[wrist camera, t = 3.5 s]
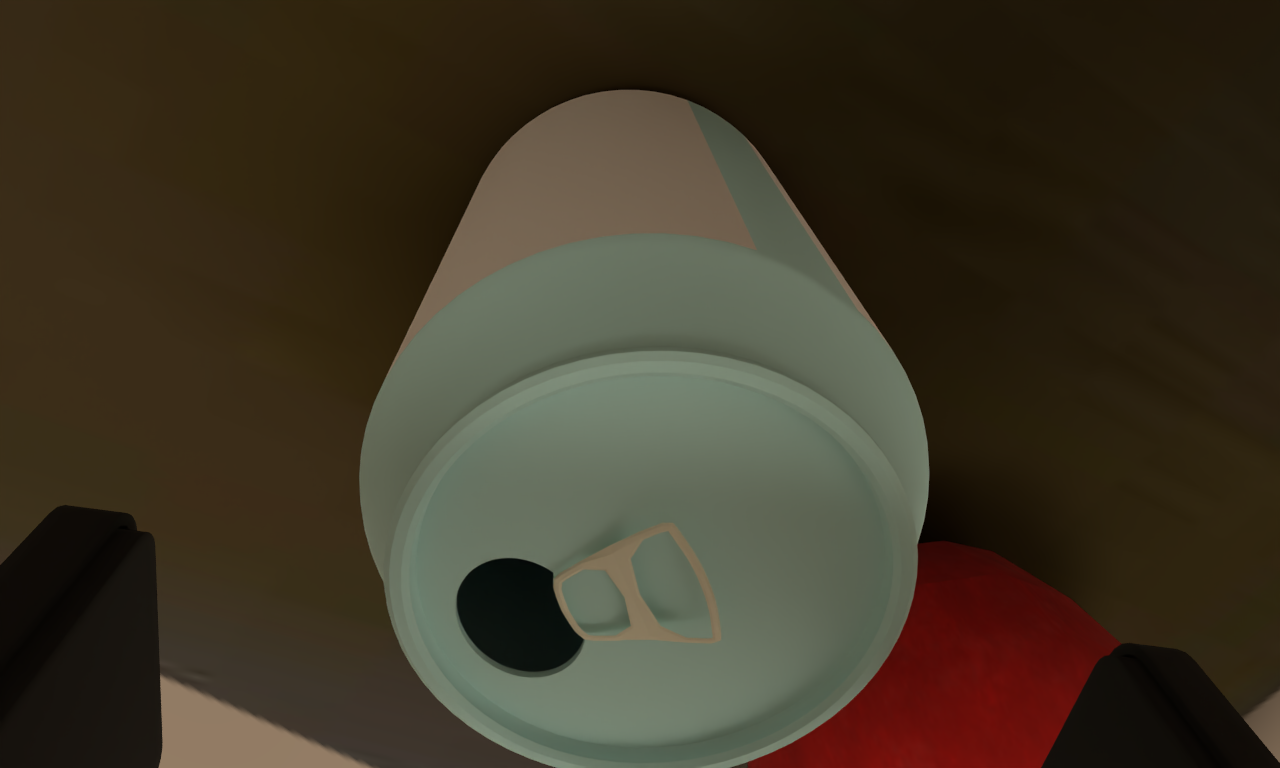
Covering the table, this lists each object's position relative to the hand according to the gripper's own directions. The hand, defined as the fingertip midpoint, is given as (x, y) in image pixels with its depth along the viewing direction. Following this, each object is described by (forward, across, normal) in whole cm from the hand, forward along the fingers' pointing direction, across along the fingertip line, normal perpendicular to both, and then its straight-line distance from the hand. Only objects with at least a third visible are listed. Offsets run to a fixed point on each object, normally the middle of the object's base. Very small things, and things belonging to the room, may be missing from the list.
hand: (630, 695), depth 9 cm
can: (+13, 0, -1) cm, 13 cm away
